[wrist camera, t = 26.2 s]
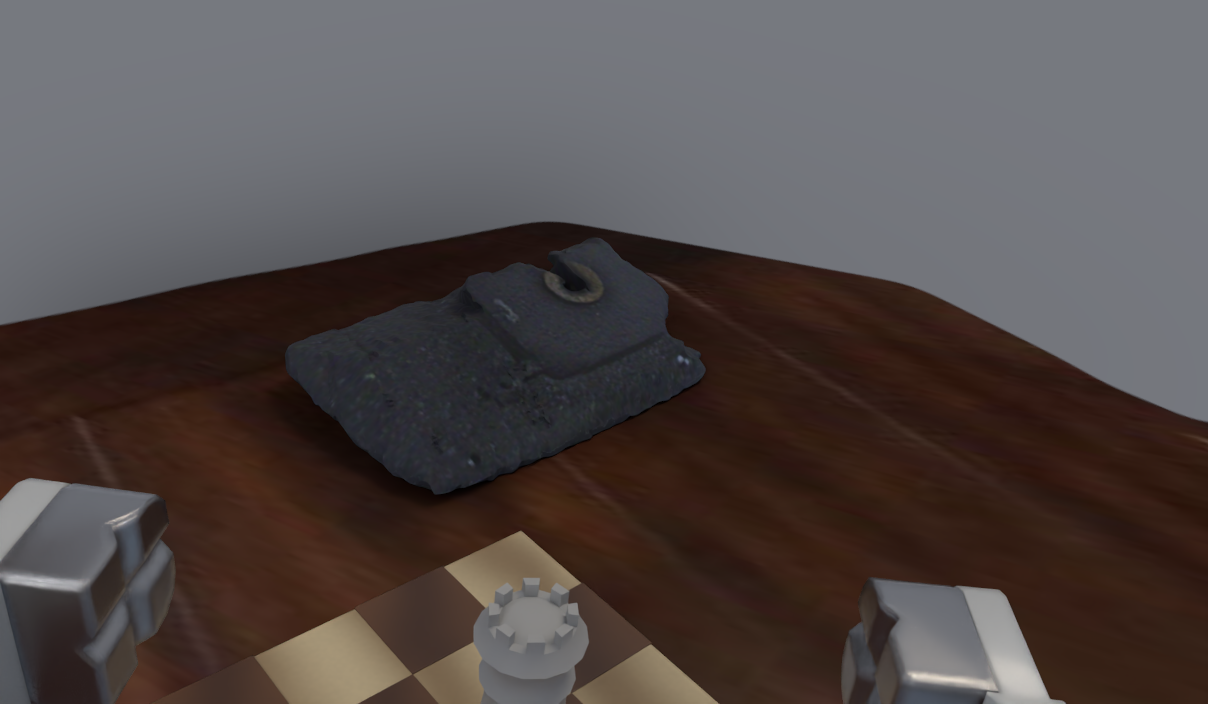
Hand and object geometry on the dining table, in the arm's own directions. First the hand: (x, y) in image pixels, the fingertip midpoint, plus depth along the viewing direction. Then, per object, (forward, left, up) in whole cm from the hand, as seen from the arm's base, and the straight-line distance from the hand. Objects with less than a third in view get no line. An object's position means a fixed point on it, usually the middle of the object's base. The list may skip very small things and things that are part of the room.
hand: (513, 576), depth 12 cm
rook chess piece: (-8, -8, -20) cm, 23 cm away
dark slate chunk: (-24, -31, -21) cm, 45 cm away
